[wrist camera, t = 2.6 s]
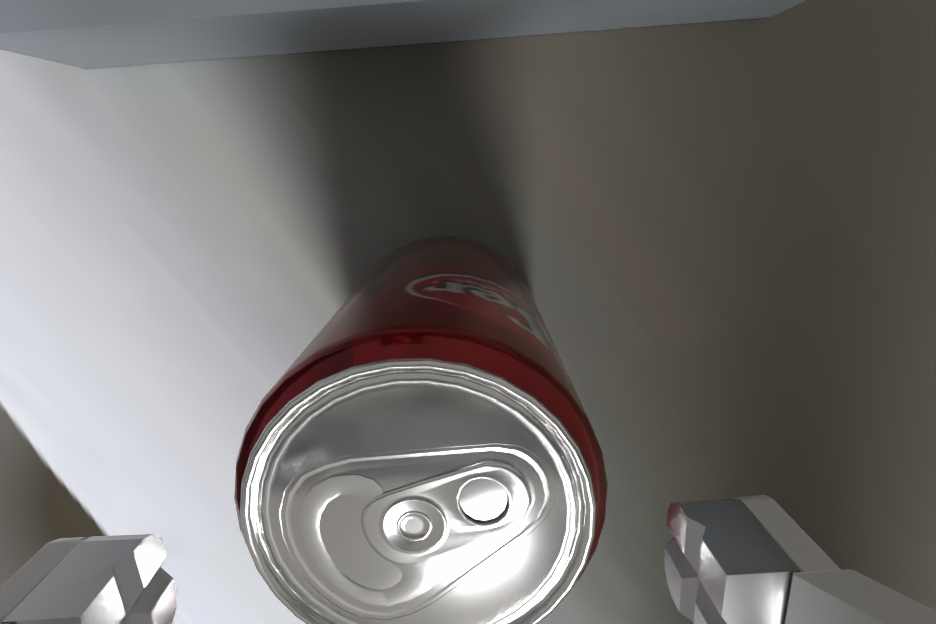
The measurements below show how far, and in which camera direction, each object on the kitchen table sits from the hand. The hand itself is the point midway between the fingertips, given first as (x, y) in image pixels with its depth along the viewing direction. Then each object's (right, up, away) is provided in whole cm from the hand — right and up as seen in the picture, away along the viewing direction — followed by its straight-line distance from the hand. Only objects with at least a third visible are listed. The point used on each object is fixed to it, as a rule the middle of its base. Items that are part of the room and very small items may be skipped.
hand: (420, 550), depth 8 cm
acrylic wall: (-1, +14, +9) cm, 17 cm away
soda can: (0, +3, +13) cm, 13 cm away
